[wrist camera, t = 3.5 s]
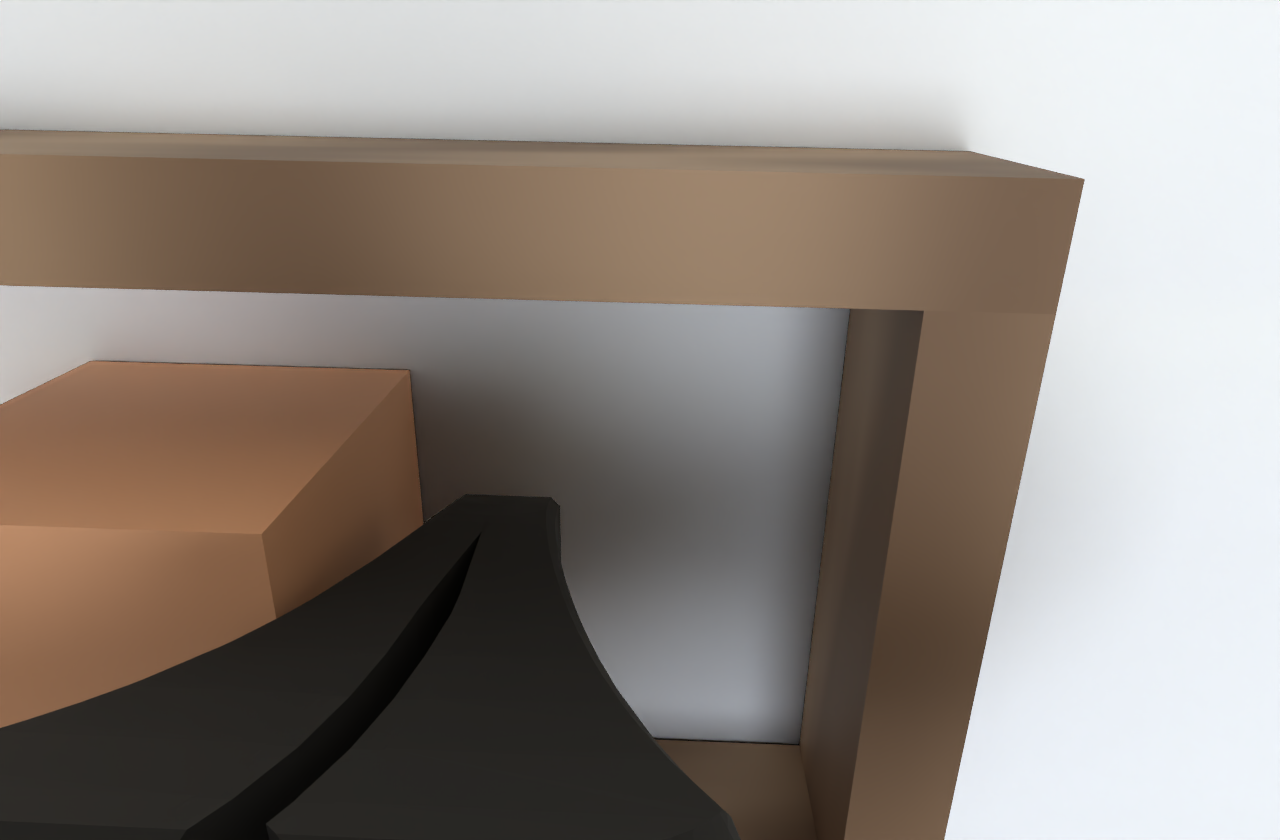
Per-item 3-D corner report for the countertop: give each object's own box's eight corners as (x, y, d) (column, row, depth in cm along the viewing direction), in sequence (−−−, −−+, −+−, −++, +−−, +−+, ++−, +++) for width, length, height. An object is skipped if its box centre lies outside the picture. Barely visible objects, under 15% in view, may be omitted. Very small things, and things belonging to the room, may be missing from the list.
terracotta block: (409, 369, 11) (261, 534, 7) (433, 639, 13) (324, 894, 9) (90, 361, 11) (-231, 517, 7) (155, 628, 13) (-79, 876, 9)
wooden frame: (970, 151, 10) (1083, 179, 7) (865, 804, 14) (912, 984, 11) (-138, 126, 10) (-434, 144, 8) (64, 770, 14) (-82, 936, 12)
